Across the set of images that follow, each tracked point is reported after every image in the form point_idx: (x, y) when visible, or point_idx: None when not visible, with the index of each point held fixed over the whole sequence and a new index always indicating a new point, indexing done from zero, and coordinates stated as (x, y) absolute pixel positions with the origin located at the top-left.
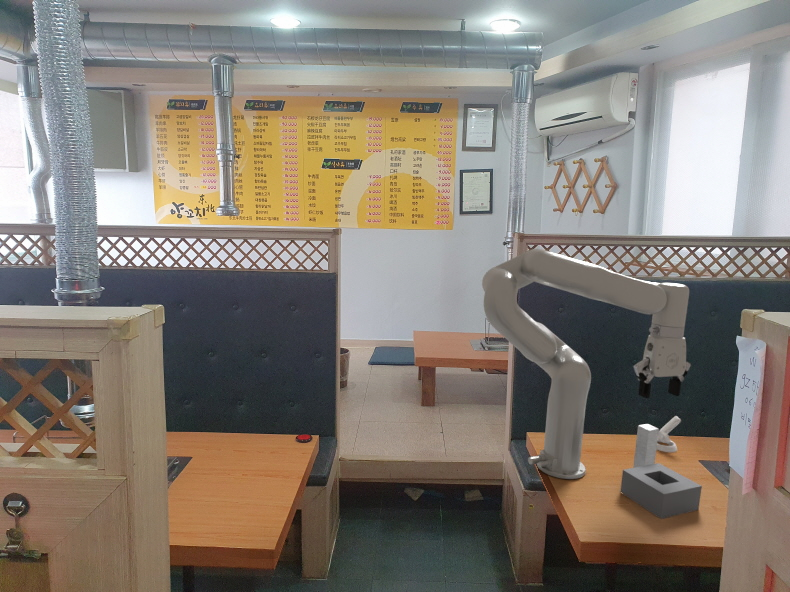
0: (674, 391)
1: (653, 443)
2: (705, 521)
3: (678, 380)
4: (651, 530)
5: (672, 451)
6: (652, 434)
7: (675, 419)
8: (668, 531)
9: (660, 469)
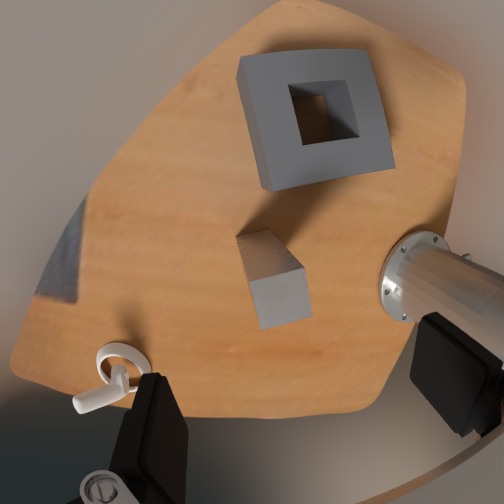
0: (168, 412)
1: (261, 258)
2: (254, 43)
3: (134, 486)
4: (377, 48)
5: (113, 344)
6: (277, 267)
7: (85, 404)
8: (350, 37)
9: (296, 152)
